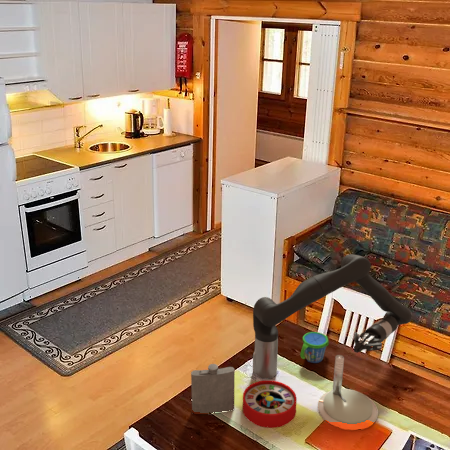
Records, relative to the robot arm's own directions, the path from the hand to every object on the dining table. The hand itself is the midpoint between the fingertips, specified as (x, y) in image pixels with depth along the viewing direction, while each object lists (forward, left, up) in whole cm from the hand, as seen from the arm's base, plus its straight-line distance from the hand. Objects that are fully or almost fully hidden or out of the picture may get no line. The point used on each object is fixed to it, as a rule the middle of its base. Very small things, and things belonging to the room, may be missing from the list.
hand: (355, 350), depth 222 cm
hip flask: (-45, -36, -17) cm, 59 cm away
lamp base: (+1, -16, -16) cm, 23 cm away
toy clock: (-26, -27, -17) cm, 41 cm away
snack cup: (-19, +11, -17) cm, 27 cm away
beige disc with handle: (+1, -16, -15) cm, 22 cm away
